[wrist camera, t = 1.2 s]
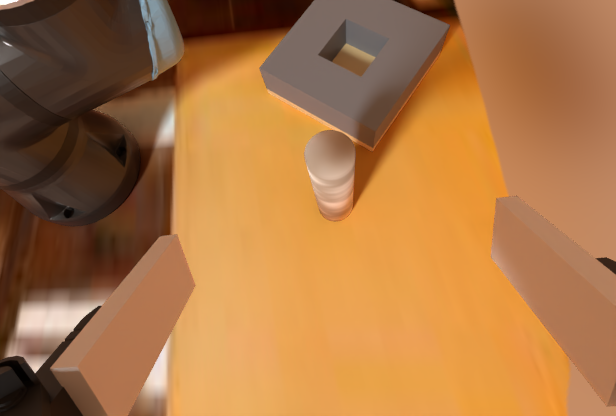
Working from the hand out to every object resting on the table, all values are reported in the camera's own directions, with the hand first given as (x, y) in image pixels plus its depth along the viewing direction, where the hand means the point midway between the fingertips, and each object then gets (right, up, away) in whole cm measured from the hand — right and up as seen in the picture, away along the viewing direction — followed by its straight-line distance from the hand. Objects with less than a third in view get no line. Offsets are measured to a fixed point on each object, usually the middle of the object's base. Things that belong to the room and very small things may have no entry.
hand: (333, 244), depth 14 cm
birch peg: (+2, +2, +26) cm, 26 cm away
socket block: (+5, +19, +31) cm, 36 cm away
